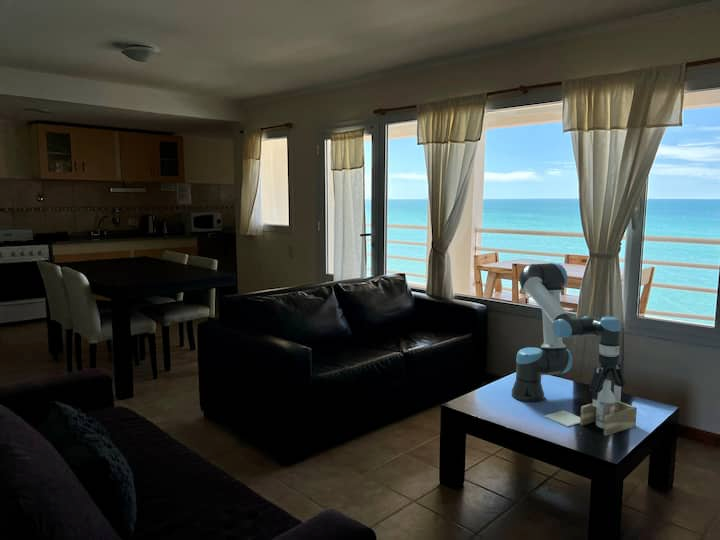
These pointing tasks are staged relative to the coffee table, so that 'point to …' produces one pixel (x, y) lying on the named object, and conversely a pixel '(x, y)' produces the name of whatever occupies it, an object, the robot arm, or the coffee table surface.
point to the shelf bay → (611, 417)
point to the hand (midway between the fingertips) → (606, 403)
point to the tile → (564, 418)
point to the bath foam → (605, 404)
